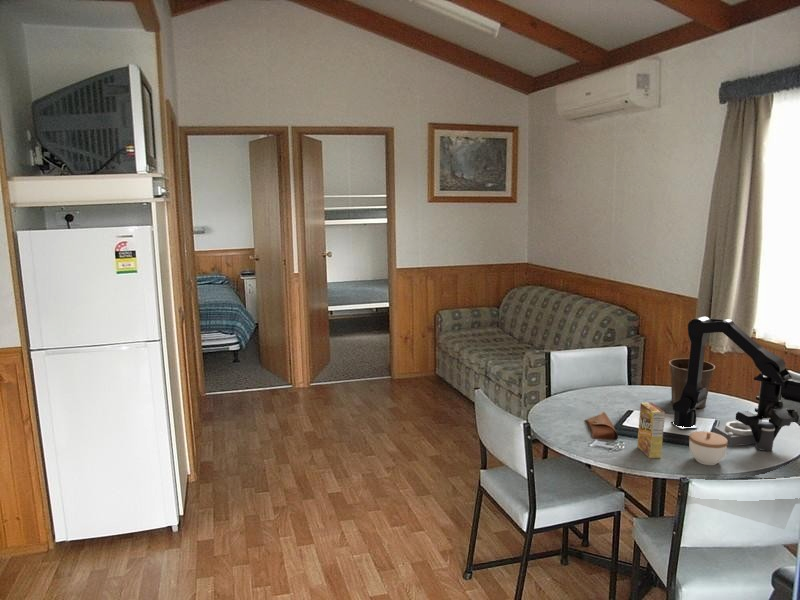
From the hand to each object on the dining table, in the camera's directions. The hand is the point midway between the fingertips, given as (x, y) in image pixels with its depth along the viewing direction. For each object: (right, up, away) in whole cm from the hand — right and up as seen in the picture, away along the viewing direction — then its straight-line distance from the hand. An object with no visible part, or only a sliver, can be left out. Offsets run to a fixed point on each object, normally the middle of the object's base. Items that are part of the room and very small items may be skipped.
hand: (764, 441), depth 207 cm
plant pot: (-6, +5, +41) cm, 42 cm away
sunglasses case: (-48, 0, +17) cm, 51 cm away
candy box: (-38, -3, -2) cm, 38 cm away
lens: (0, -2, 0) cm, 2 cm away
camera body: (-4, -1, +8) cm, 9 cm away
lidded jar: (-23, -4, -8) cm, 25 cm away
